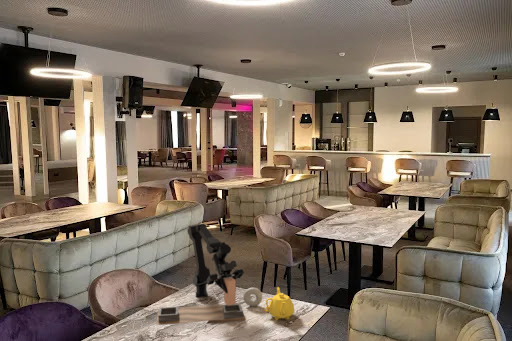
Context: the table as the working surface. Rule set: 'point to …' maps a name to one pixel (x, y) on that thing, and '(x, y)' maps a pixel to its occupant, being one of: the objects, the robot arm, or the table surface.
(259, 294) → the donut
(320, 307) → the table surface
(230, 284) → the block
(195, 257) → the robot arm
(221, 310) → the puzzle board
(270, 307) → the teapot
